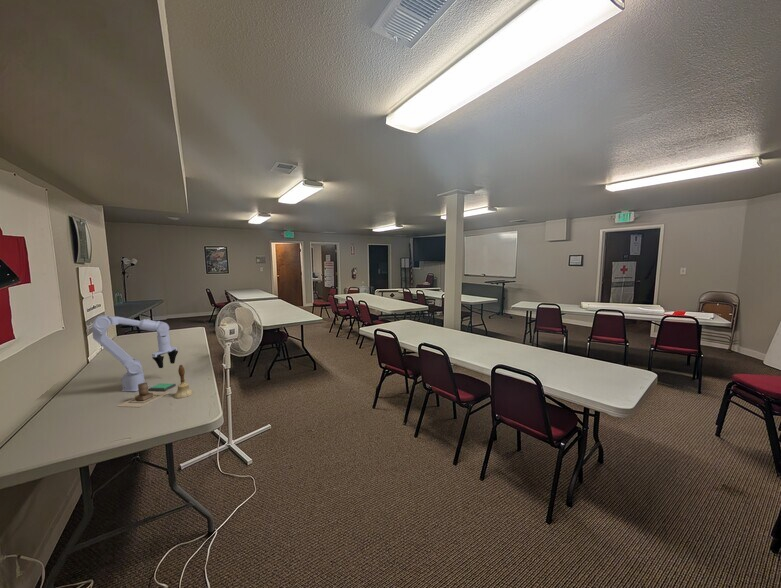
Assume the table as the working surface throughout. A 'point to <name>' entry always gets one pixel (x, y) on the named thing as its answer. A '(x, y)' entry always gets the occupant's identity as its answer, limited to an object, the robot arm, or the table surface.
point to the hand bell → (183, 385)
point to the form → (141, 403)
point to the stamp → (143, 392)
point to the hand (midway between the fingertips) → (166, 365)
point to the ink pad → (161, 387)
